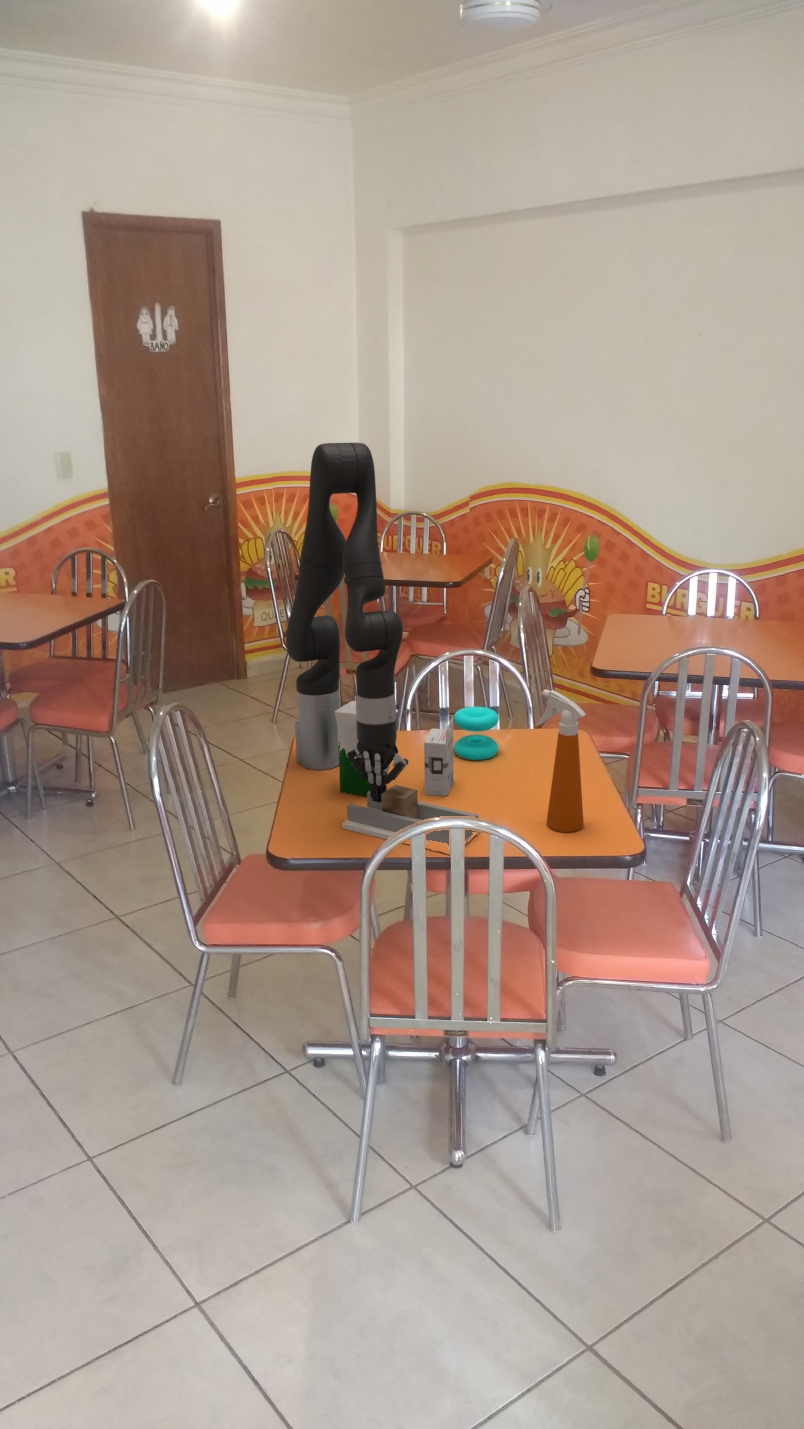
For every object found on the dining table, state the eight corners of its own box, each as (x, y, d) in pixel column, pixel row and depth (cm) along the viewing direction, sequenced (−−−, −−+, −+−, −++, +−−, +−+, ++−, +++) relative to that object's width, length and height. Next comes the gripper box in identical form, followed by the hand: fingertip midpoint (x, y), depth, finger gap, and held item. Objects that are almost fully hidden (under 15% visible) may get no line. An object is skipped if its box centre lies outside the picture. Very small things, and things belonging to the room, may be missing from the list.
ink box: (431, 779, 221) (430, 714, 217) (454, 780, 221) (453, 715, 216) (424, 795, 214) (423, 728, 209) (447, 796, 213) (447, 729, 208)
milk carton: (371, 800, 212) (368, 707, 205) (333, 793, 216) (329, 701, 209) (391, 784, 219) (388, 694, 213) (353, 777, 223) (350, 689, 216)
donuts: (444, 713, 231) (471, 702, 238) (445, 755, 235) (471, 742, 242) (480, 722, 225) (507, 710, 232) (480, 765, 228) (506, 752, 235)
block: (382, 822, 198) (381, 793, 196) (395, 813, 203) (394, 784, 201) (404, 828, 196) (404, 799, 194) (417, 818, 200) (417, 789, 198)
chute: (342, 828, 199) (341, 809, 198) (375, 805, 209) (375, 787, 208) (452, 855, 188) (452, 835, 186) (482, 830, 197) (482, 811, 196)
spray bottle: (542, 809, 206) (546, 682, 197) (590, 823, 200) (596, 693, 191) (523, 821, 201) (525, 692, 192) (571, 836, 194) (576, 703, 186)
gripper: (335, 716, 195) (339, 800, 201) (396, 727, 188) (397, 814, 194) (357, 705, 201) (360, 787, 207) (416, 715, 194) (417, 800, 200)
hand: (378, 800), depth 200 cm, fingers closed
